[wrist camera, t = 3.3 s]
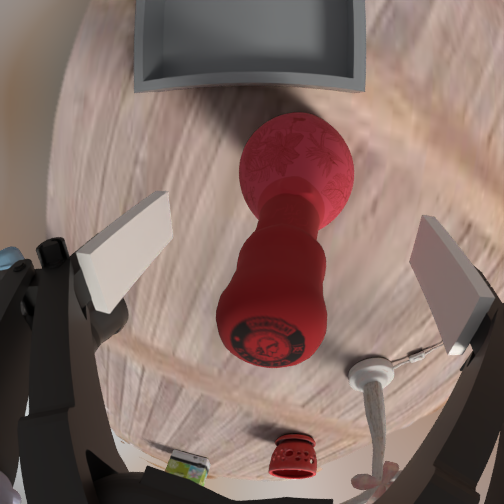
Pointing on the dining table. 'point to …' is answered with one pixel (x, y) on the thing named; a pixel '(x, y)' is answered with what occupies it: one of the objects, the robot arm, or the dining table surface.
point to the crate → (250, 44)
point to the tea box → (188, 466)
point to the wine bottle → (285, 240)
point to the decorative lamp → (376, 424)
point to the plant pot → (293, 457)
